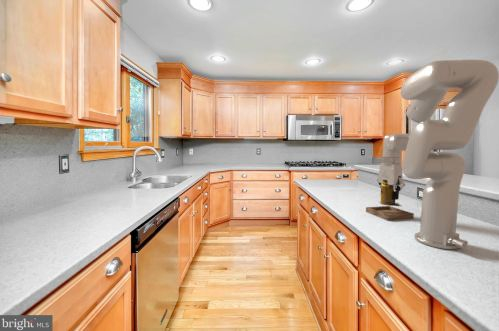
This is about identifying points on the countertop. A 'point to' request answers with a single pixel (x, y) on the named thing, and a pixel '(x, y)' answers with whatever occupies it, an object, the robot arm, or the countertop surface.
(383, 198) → the condiment
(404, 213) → the walnut tray
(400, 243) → the countertop surface
